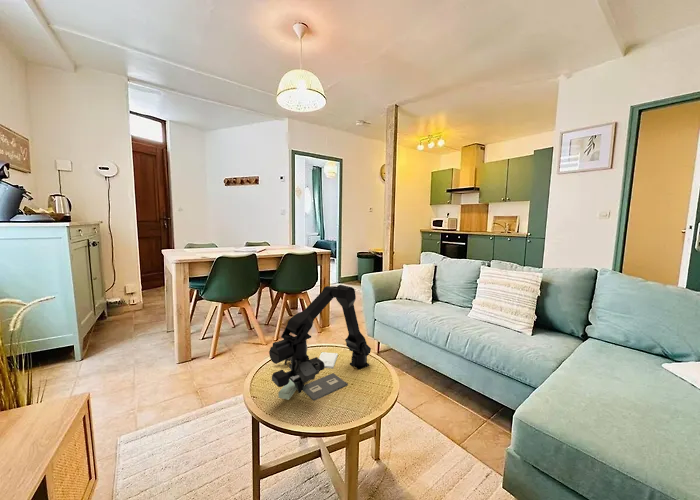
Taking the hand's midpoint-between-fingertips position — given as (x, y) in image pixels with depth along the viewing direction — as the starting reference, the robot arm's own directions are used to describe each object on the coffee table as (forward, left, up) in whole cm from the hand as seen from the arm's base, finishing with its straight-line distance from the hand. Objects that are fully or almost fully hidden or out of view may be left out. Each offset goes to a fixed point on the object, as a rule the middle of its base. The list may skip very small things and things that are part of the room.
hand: (299, 392), depth 106 cm
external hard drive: (-24, -17, -3) cm, 30 cm away
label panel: (-12, -4, -3) cm, 12 cm away
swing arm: (-1, -6, 0) cm, 6 cm away
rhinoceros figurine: (-11, -25, -3) cm, 27 cm away
